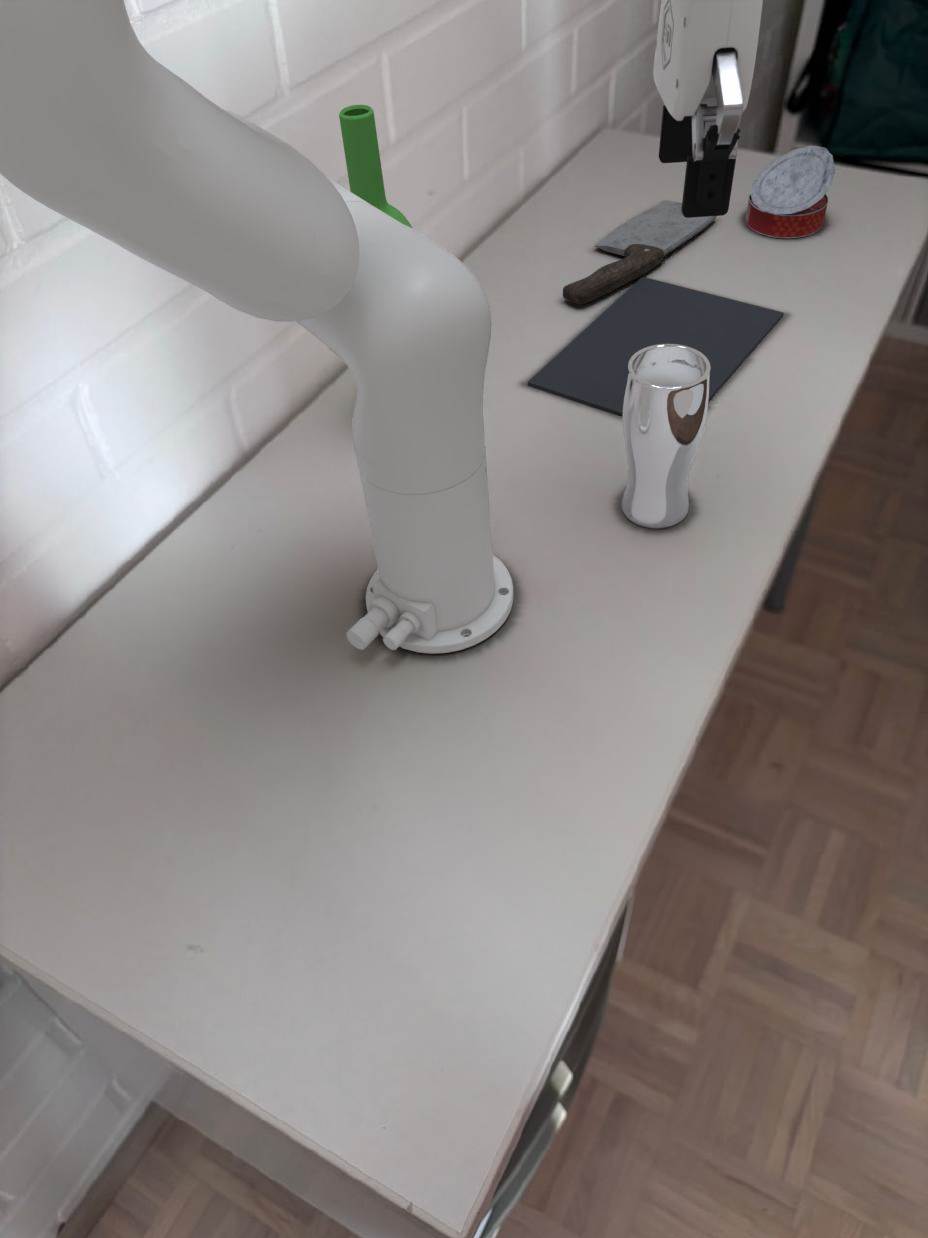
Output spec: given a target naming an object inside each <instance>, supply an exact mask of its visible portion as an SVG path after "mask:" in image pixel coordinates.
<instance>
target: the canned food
mask: <svg viewBox="0 0 928 1238" xmlns="http://www.w3.org/2000/svg"><path fill="white" fill-rule="evenodd" d="M833 155H834V154H832V153H830V151H829V150H828V148H826V147H824V146H820V145H819V146H818V145H808V146H804V147H799V148H798V147H797V148H795V149H792V150H790V151H788V152H786V153H785V154H781V155H780V156H778V157H776V158H775V159H774V160H772V161H771V162H770V163H769V164H768V165H766V166H764V167H763V168H762V169H761V170H760V172H759V173H758V174H757V176H756V177H755V178H754V179H753V180H752V185H751V188H750V191H749V194H748V201H747V207H746V214H745V220H744V222H745V225H746V226H747V227H748V229H750V230H751V231H753V232H755V233H757V234H758V235H761V236H765V237H767V238H768V237H769V238H774V239H785V240H786V239H787V240H788V239H790V240H791V239H799V238H805V237H809V236H811V235H814V234H816V233H818V232H819V231H820V230H821V229H822V228H823V226H824V223H825V218H826V213H827V209H828V204H829V196H828V195H827V193H828V191H829V189H830V188H831V186H832V184H833V181H834V176H835V171H836V167H835V163H834V156H833Z"/></svg>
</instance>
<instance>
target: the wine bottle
mask: <svg viewBox="0 0 928 1238" xmlns="http://www.w3.org/2000/svg"><path fill="white" fill-rule="evenodd" d="M338 118H339V126H340V130H341V137H342V144H343V153H344V157H345V164H346V172H347V177H348V185H349V191H350V192H352V193H353V194H355V195H356V196H358V197H360V198H361V199H363V200H364V201H366V202H368V203H369V204H371V205H372V206H374V207H376V208H377V209H379V210H381V211H382V212H384V213H386V214H387V215H389V216H391V217H392V218H394V219H395V220H397V221H399V222H400V223H402V224H404V225H406V226H409V227H411V228H412V229H414V228H413V226H412V225H411V222H410V221H409V220H408V219H407V217H406V216H405V215H404V213H402V212H401V211H400V210H399V209H398V208H397V207H395V206H394V205H392V204H390V203H389V202H388V200H387V196H386V189H385V184H384V176H383V169H382V161H381V155H380V147H379V141H378V133H377V126H376V125H377V124H376V119H375V112H374V109H373V107H371V106H369V105H366V104H353V105H349V106H346V107H343V109H341V110H340V111H339V114H338Z"/></svg>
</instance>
